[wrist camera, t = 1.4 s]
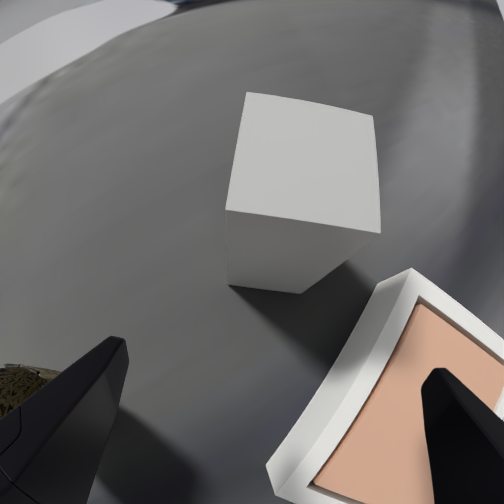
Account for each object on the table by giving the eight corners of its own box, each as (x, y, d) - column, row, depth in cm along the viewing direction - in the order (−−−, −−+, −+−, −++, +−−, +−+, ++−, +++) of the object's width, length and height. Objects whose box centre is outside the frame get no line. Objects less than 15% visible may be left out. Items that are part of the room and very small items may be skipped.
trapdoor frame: (398, 516, 17) (428, 540, 12) (265, 464, 18) (275, 495, 14) (485, 360, 21) (525, 358, 16) (377, 283, 22) (411, 267, 18)
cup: (152, 417, 19) (113, 453, 11) (93, 475, 17) (43, 518, 9) (79, 339, 20) (14, 333, 12) (28, 401, 18) (-39, 413, 10)
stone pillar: (300, 293, 22) (380, 233, 10) (227, 284, 22) (225, 209, 10) (306, 225, 23) (372, 116, 11) (237, 215, 23) (246, 91, 11)
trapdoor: (403, 501, 17) (428, 520, 13) (300, 461, 18) (315, 484, 14) (476, 370, 20) (509, 370, 16) (391, 311, 21) (421, 303, 17)
